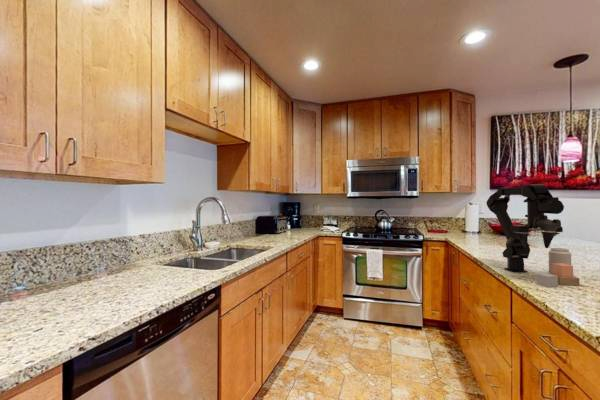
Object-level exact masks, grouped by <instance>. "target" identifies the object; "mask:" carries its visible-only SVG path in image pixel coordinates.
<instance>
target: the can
mask: <svg viewBox="0 0 600 400" xmlns="http://www.w3.org/2000/svg"><path fill="white" fill-rule="evenodd" d="M549 248H550V250H548V273H552V263H564V264H568V265H572V252H570V249H568V248H562V247H549Z"/></svg>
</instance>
